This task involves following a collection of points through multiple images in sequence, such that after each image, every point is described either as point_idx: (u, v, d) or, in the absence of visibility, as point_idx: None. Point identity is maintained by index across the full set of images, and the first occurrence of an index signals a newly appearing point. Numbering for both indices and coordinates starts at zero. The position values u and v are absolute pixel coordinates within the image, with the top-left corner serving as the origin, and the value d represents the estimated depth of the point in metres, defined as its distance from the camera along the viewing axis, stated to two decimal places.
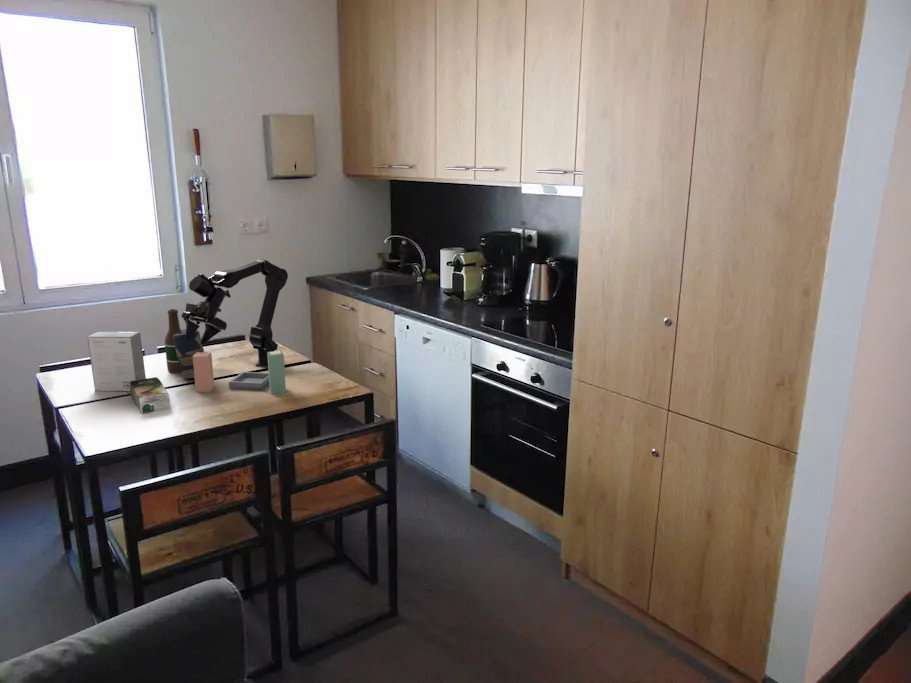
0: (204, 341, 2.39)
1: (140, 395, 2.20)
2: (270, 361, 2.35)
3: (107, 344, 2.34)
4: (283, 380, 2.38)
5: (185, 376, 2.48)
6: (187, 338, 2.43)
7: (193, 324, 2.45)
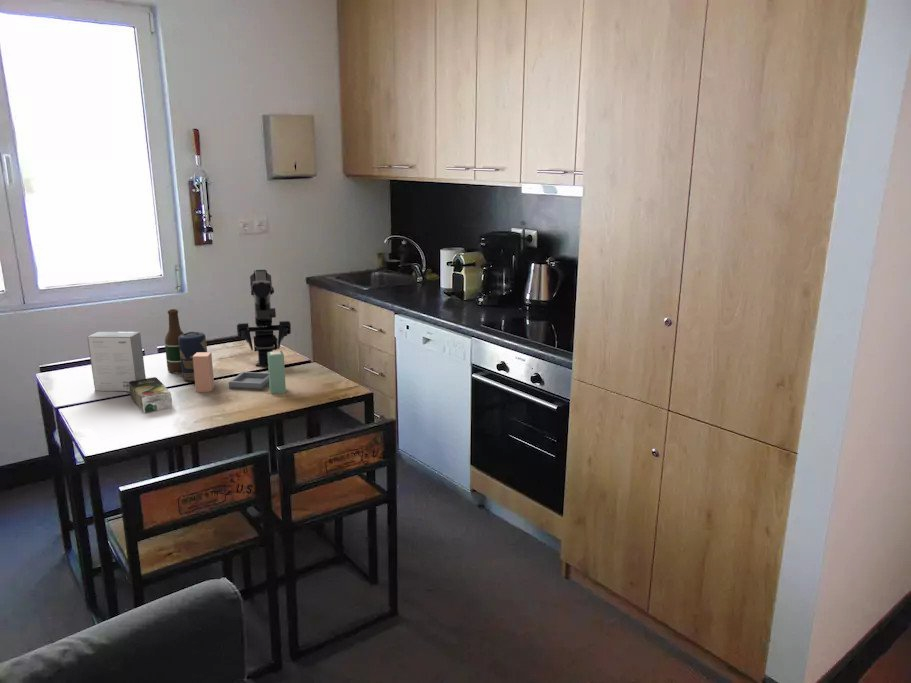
0: None
1: (142, 395, 2.20)
2: (270, 361, 2.34)
3: (107, 344, 2.34)
4: (283, 380, 2.38)
5: (186, 378, 2.48)
6: (252, 348, 2.42)
7: None
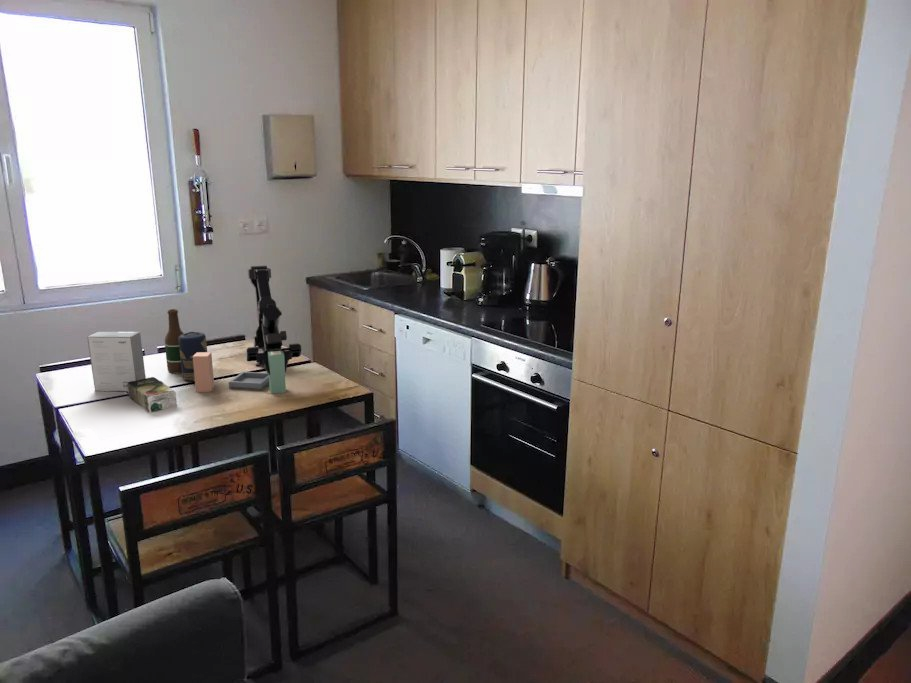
0: None
1: (147, 394, 2.20)
2: (270, 361, 2.34)
3: (107, 344, 2.34)
4: (283, 380, 2.38)
5: (186, 378, 2.48)
6: None
7: None
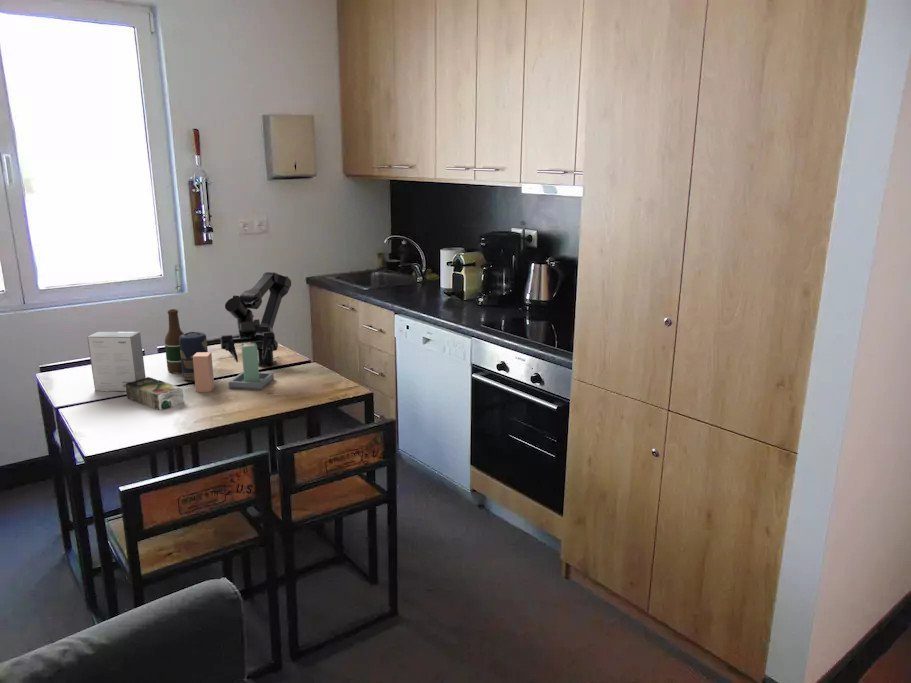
0: (264, 356, 2.46)
1: (156, 393, 2.22)
2: (244, 352, 2.41)
3: (107, 344, 2.34)
4: (257, 371, 2.45)
5: (186, 378, 2.48)
6: (237, 359, 2.43)
7: None
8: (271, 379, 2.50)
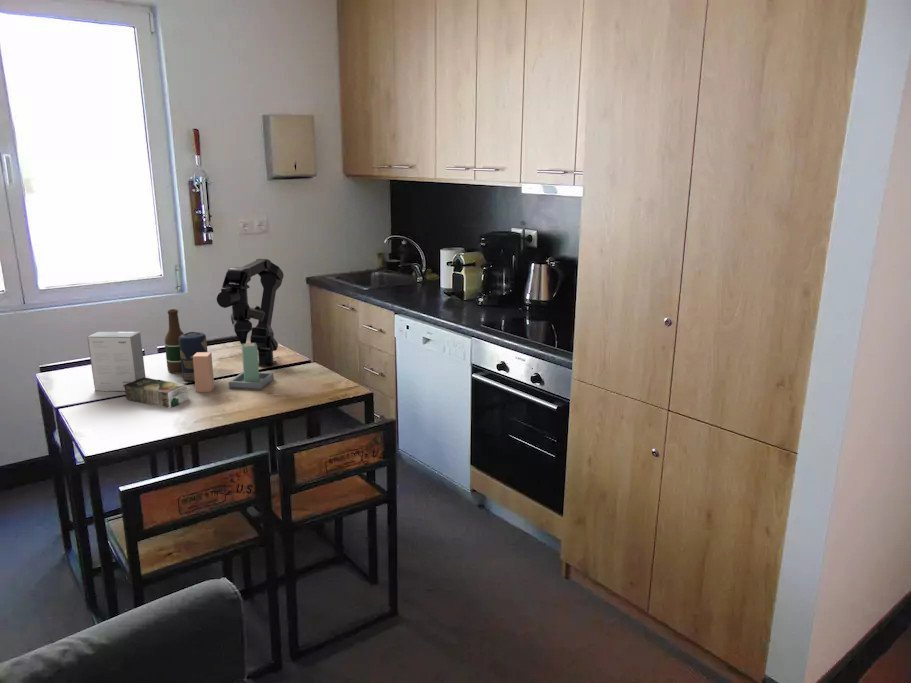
0: None
1: (164, 391, 2.24)
2: (244, 352, 2.41)
3: (107, 344, 2.34)
4: (257, 371, 2.45)
5: (186, 378, 2.48)
6: None
7: None
8: (271, 379, 2.50)
